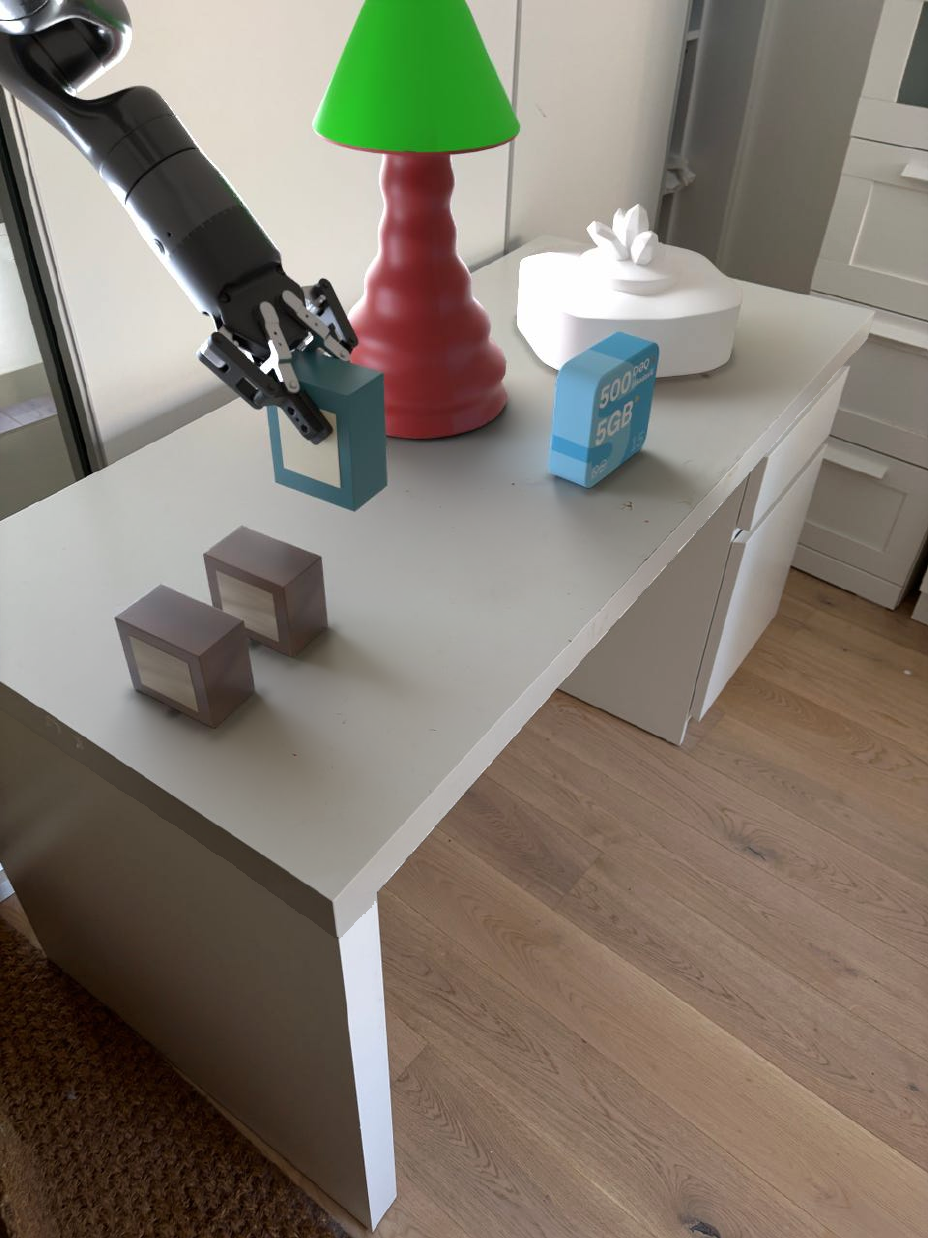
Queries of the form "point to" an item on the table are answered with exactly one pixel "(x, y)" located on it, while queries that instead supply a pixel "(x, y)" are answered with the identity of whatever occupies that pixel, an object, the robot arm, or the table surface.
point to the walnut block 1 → (186, 654)
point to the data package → (602, 408)
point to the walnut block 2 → (268, 588)
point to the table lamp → (421, 207)
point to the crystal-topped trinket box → (628, 298)
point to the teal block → (334, 433)
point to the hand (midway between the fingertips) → (345, 423)
